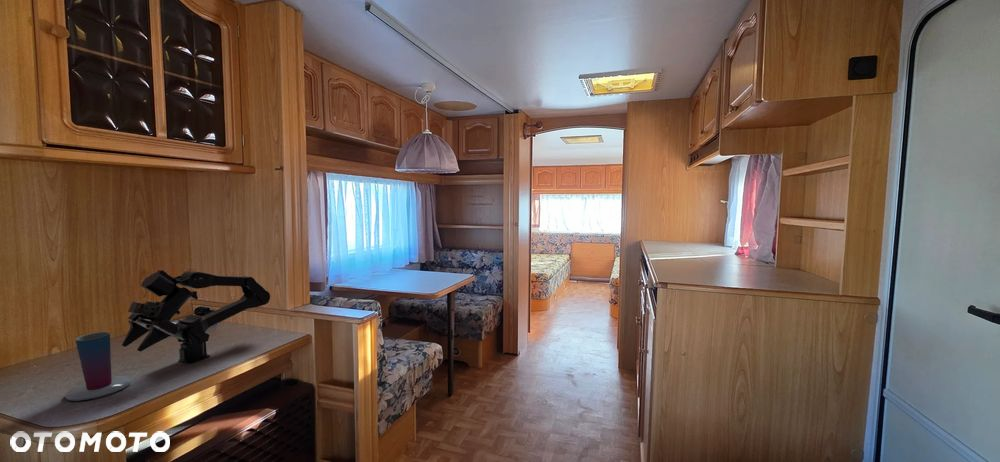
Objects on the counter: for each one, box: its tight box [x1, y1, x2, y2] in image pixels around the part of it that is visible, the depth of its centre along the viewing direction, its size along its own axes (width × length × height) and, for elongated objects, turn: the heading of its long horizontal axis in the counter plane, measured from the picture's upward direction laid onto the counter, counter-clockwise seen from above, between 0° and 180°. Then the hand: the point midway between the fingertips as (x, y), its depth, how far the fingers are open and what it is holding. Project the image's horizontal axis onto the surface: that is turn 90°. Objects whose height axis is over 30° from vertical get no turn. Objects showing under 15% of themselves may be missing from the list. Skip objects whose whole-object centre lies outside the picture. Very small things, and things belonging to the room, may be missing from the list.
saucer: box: [65, 375, 132, 402], centre depth 111 cm, size 13×13×1 cm
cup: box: [75, 331, 113, 390], centre depth 110 cm, size 7×7×15 cm
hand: (130, 348), depth 117 cm, fingers open, 9 cm apart
